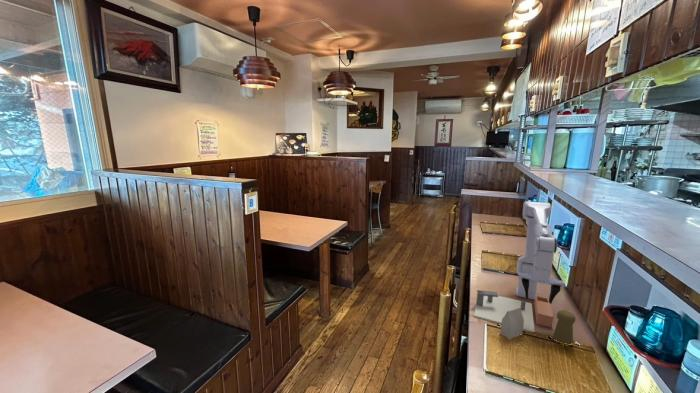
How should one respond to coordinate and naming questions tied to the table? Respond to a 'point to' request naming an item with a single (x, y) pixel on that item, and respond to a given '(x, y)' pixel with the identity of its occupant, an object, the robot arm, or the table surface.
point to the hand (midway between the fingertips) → (538, 299)
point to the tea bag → (512, 323)
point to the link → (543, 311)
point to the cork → (564, 327)
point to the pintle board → (501, 308)
